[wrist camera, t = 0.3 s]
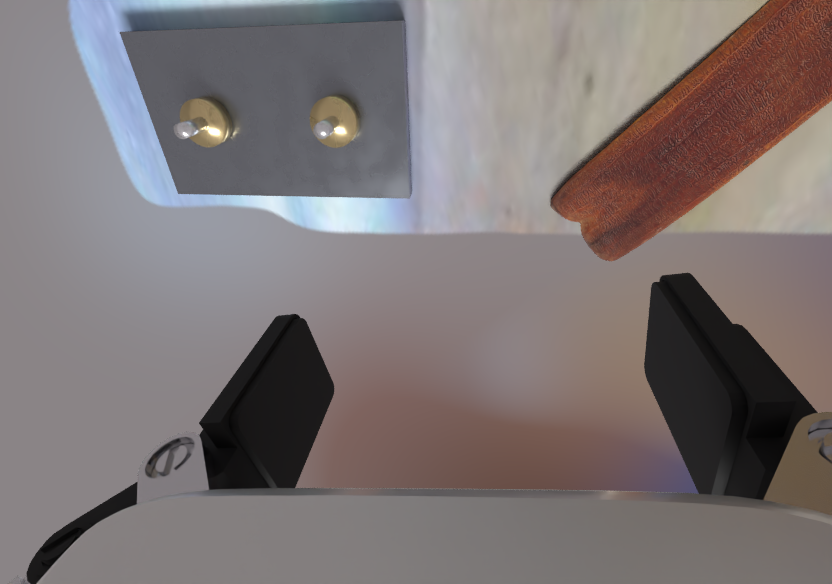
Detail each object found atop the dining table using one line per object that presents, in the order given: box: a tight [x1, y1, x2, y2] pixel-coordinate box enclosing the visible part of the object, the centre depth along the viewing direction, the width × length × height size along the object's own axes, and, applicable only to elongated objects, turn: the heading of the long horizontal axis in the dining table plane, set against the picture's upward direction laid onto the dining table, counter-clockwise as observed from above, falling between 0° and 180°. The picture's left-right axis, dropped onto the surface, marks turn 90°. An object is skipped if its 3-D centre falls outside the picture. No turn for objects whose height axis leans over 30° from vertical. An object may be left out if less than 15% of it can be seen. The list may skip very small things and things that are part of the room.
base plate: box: [120, 21, 412, 198], centre depth 35 cm, size 14×24×6 cm, turn 92°
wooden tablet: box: [551, 0, 832, 261], centre depth 33 cm, size 27×10×2 cm, turn 140°
